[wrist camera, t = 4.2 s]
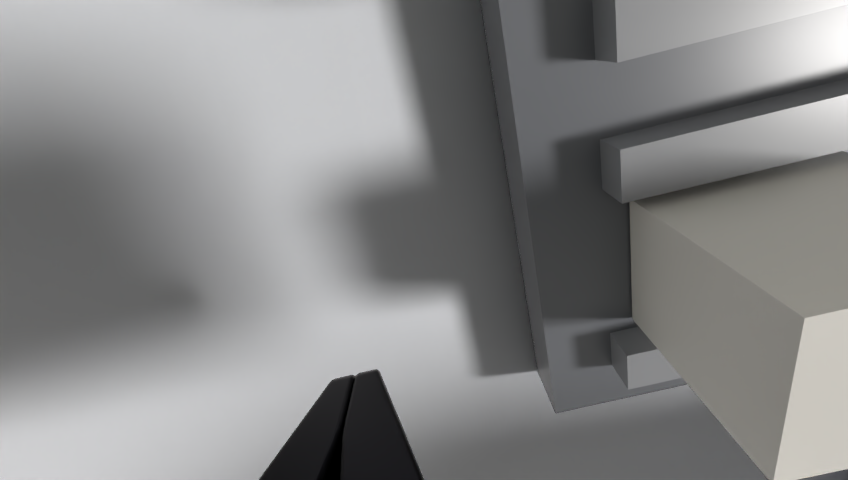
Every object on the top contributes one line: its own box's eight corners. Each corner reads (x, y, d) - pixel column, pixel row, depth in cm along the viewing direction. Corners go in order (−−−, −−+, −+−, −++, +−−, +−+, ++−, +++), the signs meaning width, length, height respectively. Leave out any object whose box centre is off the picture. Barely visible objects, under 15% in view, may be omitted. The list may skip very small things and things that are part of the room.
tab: (632, 319, 10) (772, 485, 6) (629, 198, 8) (805, 317, 5) (809, 278, 10) (1060, 424, 6) (834, 148, 8) (1174, 235, 5)
